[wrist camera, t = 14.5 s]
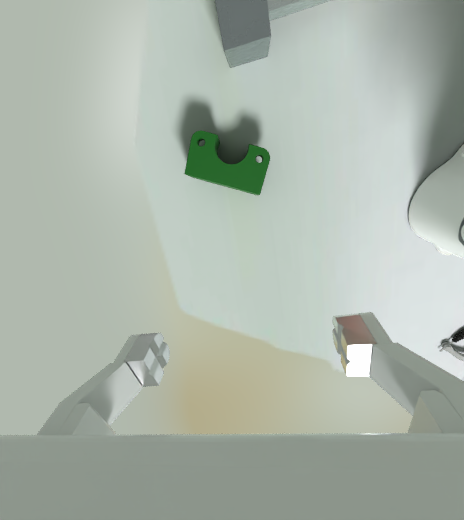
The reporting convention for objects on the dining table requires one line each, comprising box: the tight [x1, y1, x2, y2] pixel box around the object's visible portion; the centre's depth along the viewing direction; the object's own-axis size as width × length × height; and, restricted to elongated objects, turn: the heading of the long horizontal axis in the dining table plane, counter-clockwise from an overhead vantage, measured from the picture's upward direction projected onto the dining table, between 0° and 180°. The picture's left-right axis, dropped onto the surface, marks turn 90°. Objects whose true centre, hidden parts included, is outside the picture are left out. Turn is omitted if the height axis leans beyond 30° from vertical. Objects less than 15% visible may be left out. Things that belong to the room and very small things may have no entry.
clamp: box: [185, 131, 270, 195], centre depth 33 cm, size 12×6×9 cm, turn 70°
